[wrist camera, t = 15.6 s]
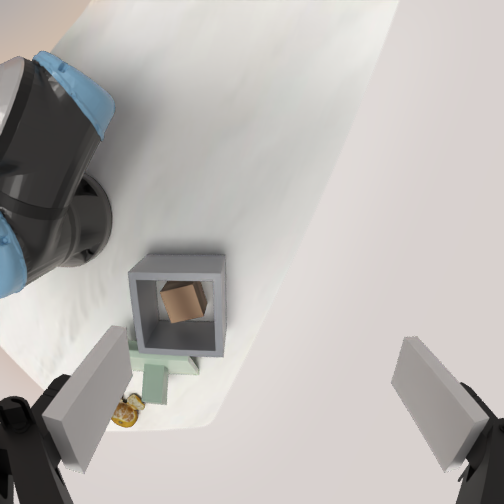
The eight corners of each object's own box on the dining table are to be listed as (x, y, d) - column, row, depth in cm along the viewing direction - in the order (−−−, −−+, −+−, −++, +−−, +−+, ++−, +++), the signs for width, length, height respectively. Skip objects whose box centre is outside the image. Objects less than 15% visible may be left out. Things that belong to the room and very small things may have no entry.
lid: (134, 354, 54) (130, 402, 49) (110, 335, 44) (104, 394, 39) (199, 358, 54) (197, 408, 50) (188, 340, 44) (185, 403, 39)
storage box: (154, 325, 51) (138, 353, 42) (147, 254, 48) (127, 272, 39) (226, 327, 51) (223, 357, 42) (225, 254, 48) (221, 273, 40)
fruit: (145, 397, 54) (140, 410, 51) (145, 424, 57) (141, 436, 53) (104, 386, 54) (98, 398, 50) (107, 414, 56) (102, 425, 52)
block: (177, 309, 50) (171, 323, 46) (167, 280, 49) (159, 292, 44) (207, 302, 50) (203, 316, 45) (197, 273, 49) (192, 284, 44)
